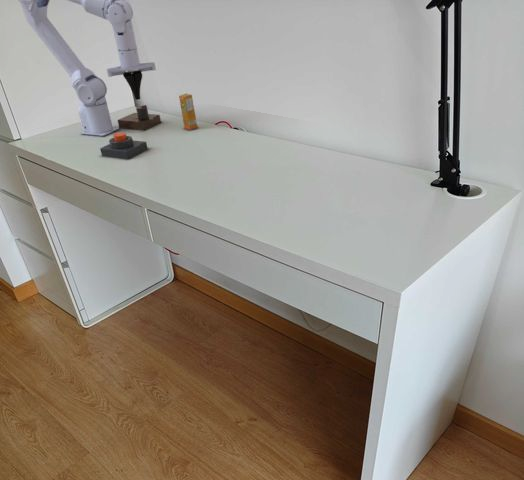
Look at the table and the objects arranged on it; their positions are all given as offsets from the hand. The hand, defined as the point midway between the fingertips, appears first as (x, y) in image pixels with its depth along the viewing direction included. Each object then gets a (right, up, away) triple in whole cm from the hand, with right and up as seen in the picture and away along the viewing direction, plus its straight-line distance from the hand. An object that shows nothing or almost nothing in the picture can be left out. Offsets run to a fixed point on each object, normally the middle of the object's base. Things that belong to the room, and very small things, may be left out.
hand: (137, 98), depth 157 cm
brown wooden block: (-2, -3, +12) cm, 12 cm away
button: (-2, -19, -13) cm, 23 cm away
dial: (0, -2, +8) cm, 9 cm away
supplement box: (+16, -7, +5) cm, 18 cm away
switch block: (-1, -21, -10) cm, 24 cm away
